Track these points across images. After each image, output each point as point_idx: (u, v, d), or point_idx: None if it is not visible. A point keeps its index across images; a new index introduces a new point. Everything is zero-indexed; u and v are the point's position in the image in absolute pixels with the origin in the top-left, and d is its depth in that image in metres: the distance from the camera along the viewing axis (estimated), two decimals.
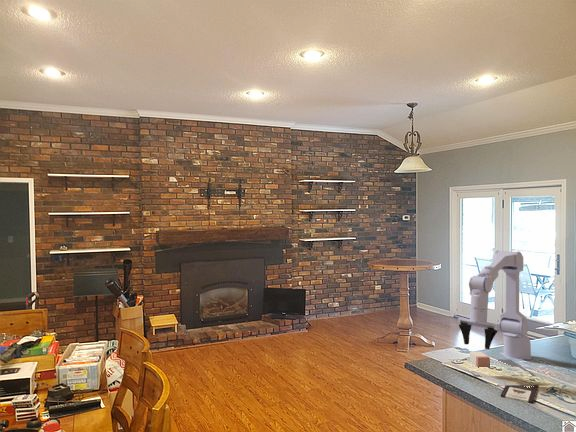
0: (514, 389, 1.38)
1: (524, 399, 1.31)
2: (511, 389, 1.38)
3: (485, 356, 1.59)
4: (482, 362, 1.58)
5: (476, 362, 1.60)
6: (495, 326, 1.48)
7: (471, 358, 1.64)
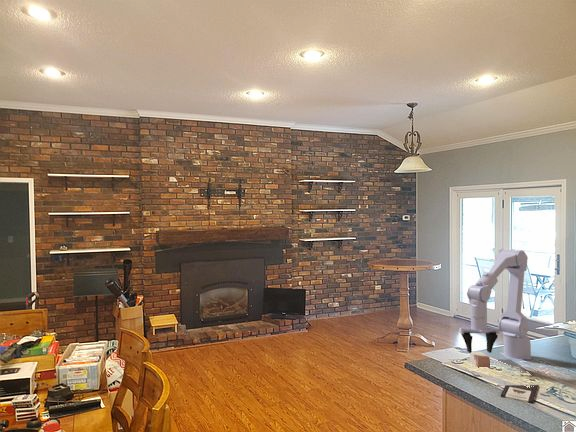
0: (514, 389, 1.38)
1: (524, 399, 1.31)
2: (510, 389, 1.38)
3: (485, 356, 1.59)
4: (482, 362, 1.58)
5: (476, 362, 1.60)
6: (497, 330, 1.61)
7: (471, 358, 1.64)
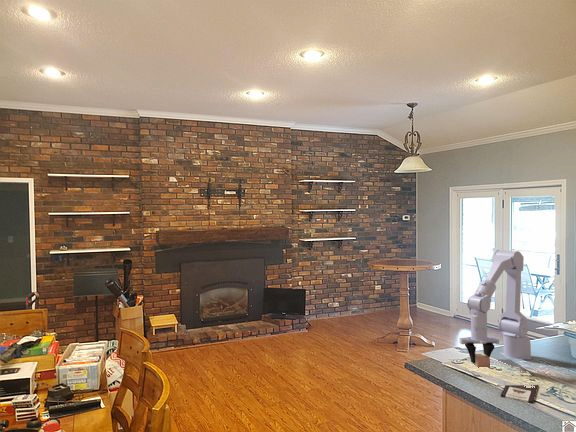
0: (514, 389, 1.38)
1: (524, 399, 1.31)
2: (510, 389, 1.38)
3: (485, 356, 1.59)
4: (482, 362, 1.58)
5: (476, 362, 1.60)
6: (497, 341, 1.61)
7: None
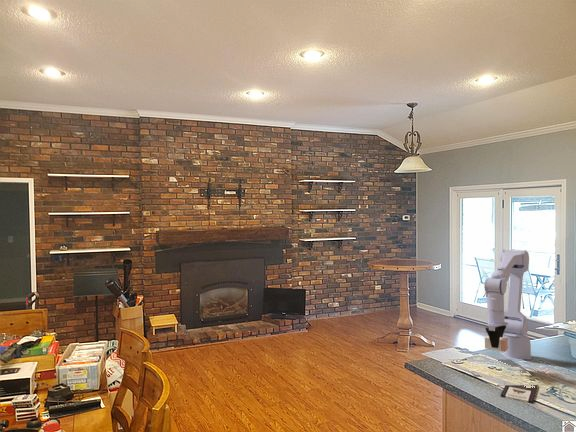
0: (514, 389, 1.38)
1: (524, 399, 1.31)
2: (510, 389, 1.38)
3: (503, 338, 1.58)
4: (506, 344, 1.56)
5: (500, 346, 1.56)
6: None
7: (489, 344, 1.58)
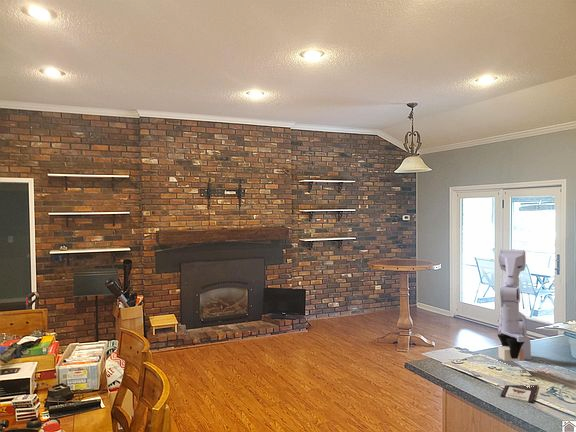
0: (514, 389, 1.38)
1: (524, 399, 1.31)
2: (510, 389, 1.38)
3: None
4: None
5: (519, 356, 1.54)
6: None
7: (508, 355, 1.54)
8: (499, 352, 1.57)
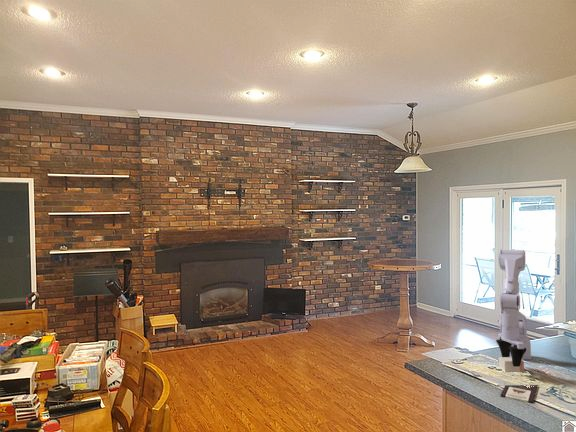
0: (514, 389, 1.38)
1: (524, 399, 1.31)
2: (510, 389, 1.38)
3: None
4: None
5: (519, 367, 1.54)
6: None
7: (508, 367, 1.54)
8: (499, 363, 1.57)
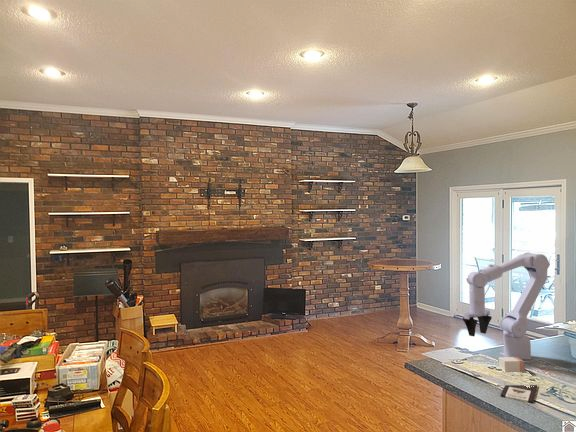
0: (514, 389, 1.38)
1: (524, 399, 1.31)
2: (510, 389, 1.39)
3: (515, 358, 1.57)
4: None
5: (519, 367, 1.54)
6: (489, 312, 1.75)
7: (508, 367, 1.54)
8: (499, 363, 1.57)
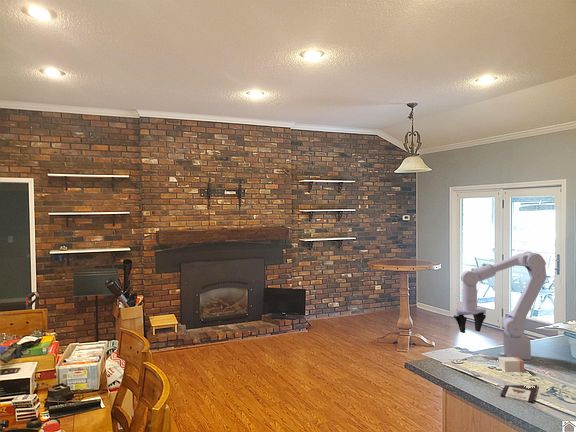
0: (514, 389, 1.38)
1: (524, 399, 1.31)
2: (510, 389, 1.39)
3: (515, 358, 1.57)
4: None
5: (519, 367, 1.54)
6: (484, 311, 1.78)
7: (508, 367, 1.54)
8: (499, 363, 1.57)
